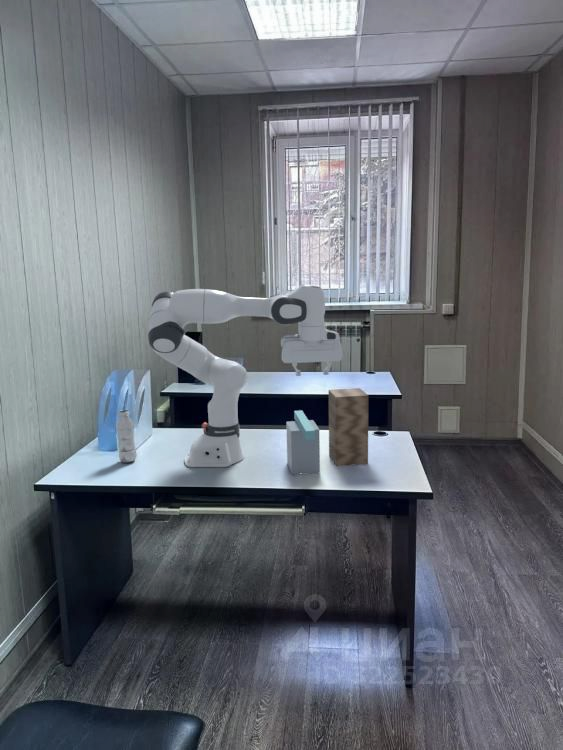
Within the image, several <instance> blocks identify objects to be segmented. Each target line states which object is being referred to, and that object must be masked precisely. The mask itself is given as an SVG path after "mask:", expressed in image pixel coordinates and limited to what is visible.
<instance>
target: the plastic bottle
mask: <svg viewBox="0 0 563 750" xmlns="http://www.w3.org/2000/svg"><path fill="white" fill-rule="evenodd" d="M134 425H135V424H134V421H133V420H132V419H131V418H130V410H128V409H124V410H119V411H118V420H117V422H116V423H115V427H116V428H115V429H116V433H117V436H118V438H117V439H118V444H119V445H118V446H119V449H118V458H119V461H120V462H121V463H124V464H126V463H127V464H128V463H133V462H134V461H136V459H137V454H138V453H137V450H136V448H135V442H134V441H135V440H134V430H135V426H134Z"/></svg>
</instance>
